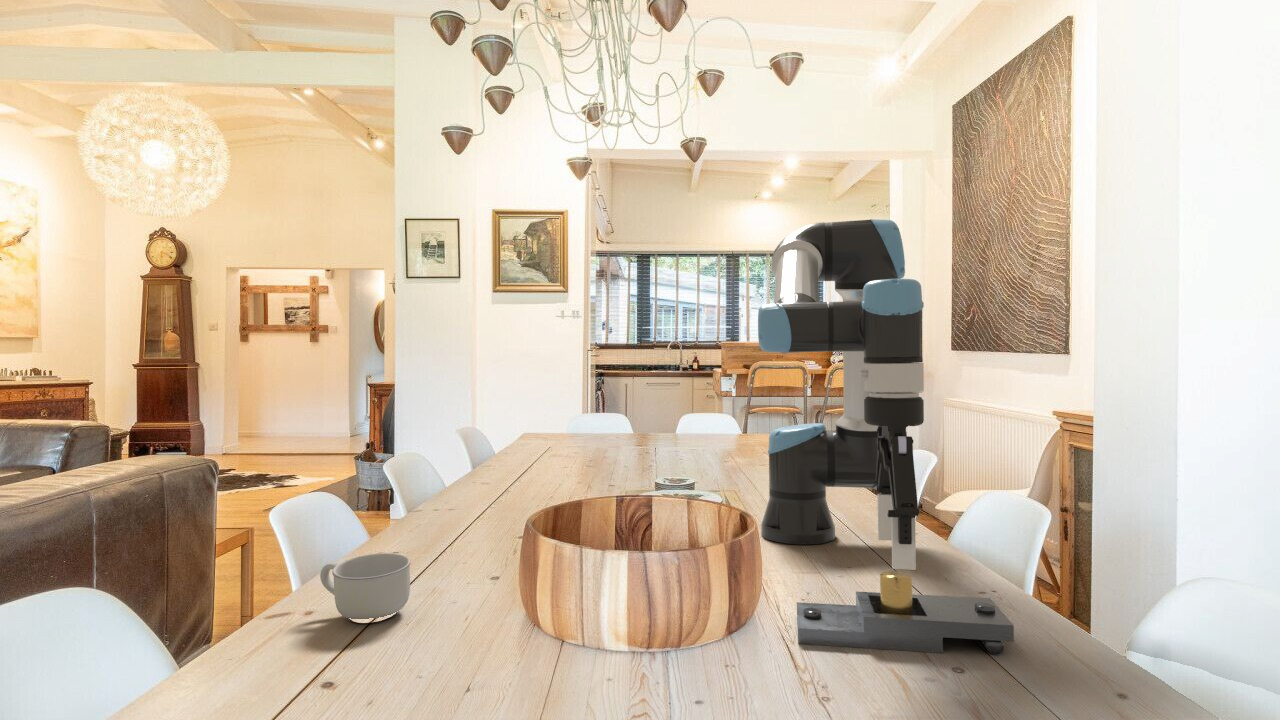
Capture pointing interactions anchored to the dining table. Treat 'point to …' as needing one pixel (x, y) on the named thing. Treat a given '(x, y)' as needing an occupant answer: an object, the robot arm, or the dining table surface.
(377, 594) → the teacup
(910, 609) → the brass pin
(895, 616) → the grey slotted bracket
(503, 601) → the dining table surface
